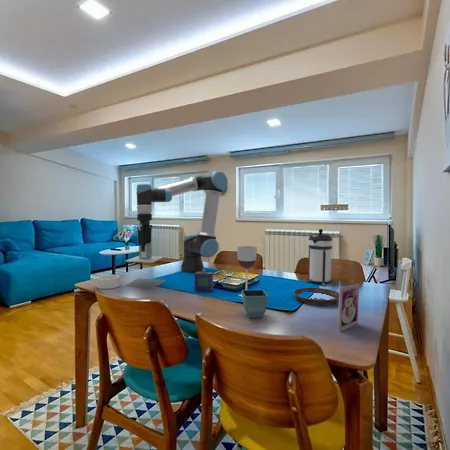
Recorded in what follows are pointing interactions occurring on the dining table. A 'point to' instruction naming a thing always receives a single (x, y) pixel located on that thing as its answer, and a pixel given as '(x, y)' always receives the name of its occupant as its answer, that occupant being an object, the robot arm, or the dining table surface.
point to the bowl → (108, 281)
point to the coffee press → (320, 257)
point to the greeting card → (348, 305)
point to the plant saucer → (315, 300)
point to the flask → (203, 281)
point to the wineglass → (246, 258)
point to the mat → (144, 283)
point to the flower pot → (254, 302)
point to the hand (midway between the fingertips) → (145, 257)
